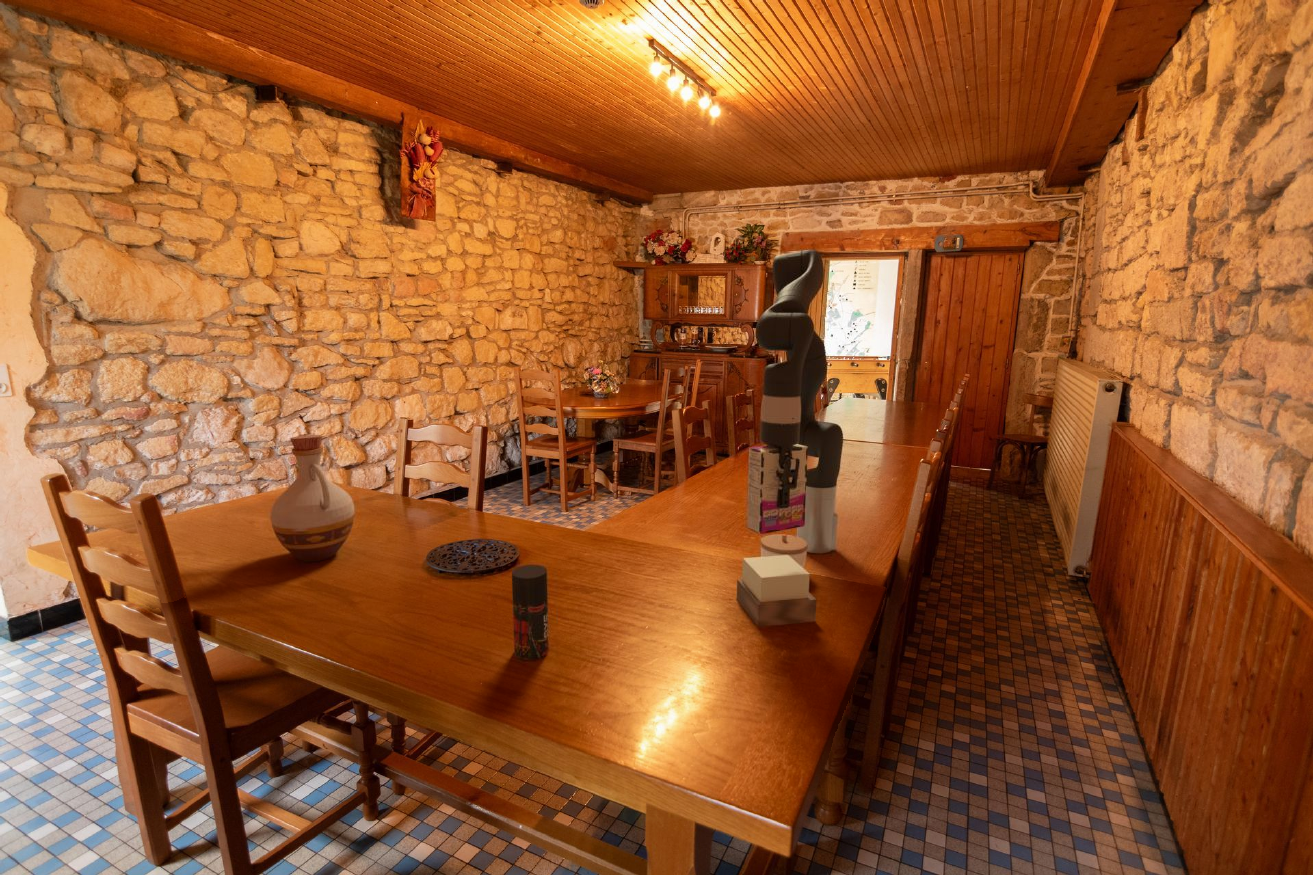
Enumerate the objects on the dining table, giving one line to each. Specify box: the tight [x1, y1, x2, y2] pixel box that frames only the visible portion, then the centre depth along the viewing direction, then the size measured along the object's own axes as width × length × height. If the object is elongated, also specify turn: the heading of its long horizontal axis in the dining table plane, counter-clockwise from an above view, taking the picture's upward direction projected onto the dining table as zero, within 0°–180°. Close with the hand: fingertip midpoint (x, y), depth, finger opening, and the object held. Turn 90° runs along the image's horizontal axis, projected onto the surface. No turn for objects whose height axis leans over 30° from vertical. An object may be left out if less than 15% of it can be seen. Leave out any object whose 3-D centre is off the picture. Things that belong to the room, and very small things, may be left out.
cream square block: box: [741, 555, 811, 602], centre depth 124 cm, size 10×10×5 cm
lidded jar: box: [760, 533, 808, 568], centre depth 143 cm, size 11×11×9 cm
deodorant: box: [511, 564, 550, 662], centre depth 107 cm, size 6×6×15 cm
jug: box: [269, 434, 355, 563], centre depth 147 cm, size 20×18×30 cm
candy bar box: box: [746, 444, 808, 535], centre depth 120 cm, size 11×5×16 cm, turn 117°
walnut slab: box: [736, 578, 817, 628], centre depth 125 cm, size 12×12×5 cm
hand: (776, 502), depth 121 cm, fingers closed on candy bar box, 5 cm apart
